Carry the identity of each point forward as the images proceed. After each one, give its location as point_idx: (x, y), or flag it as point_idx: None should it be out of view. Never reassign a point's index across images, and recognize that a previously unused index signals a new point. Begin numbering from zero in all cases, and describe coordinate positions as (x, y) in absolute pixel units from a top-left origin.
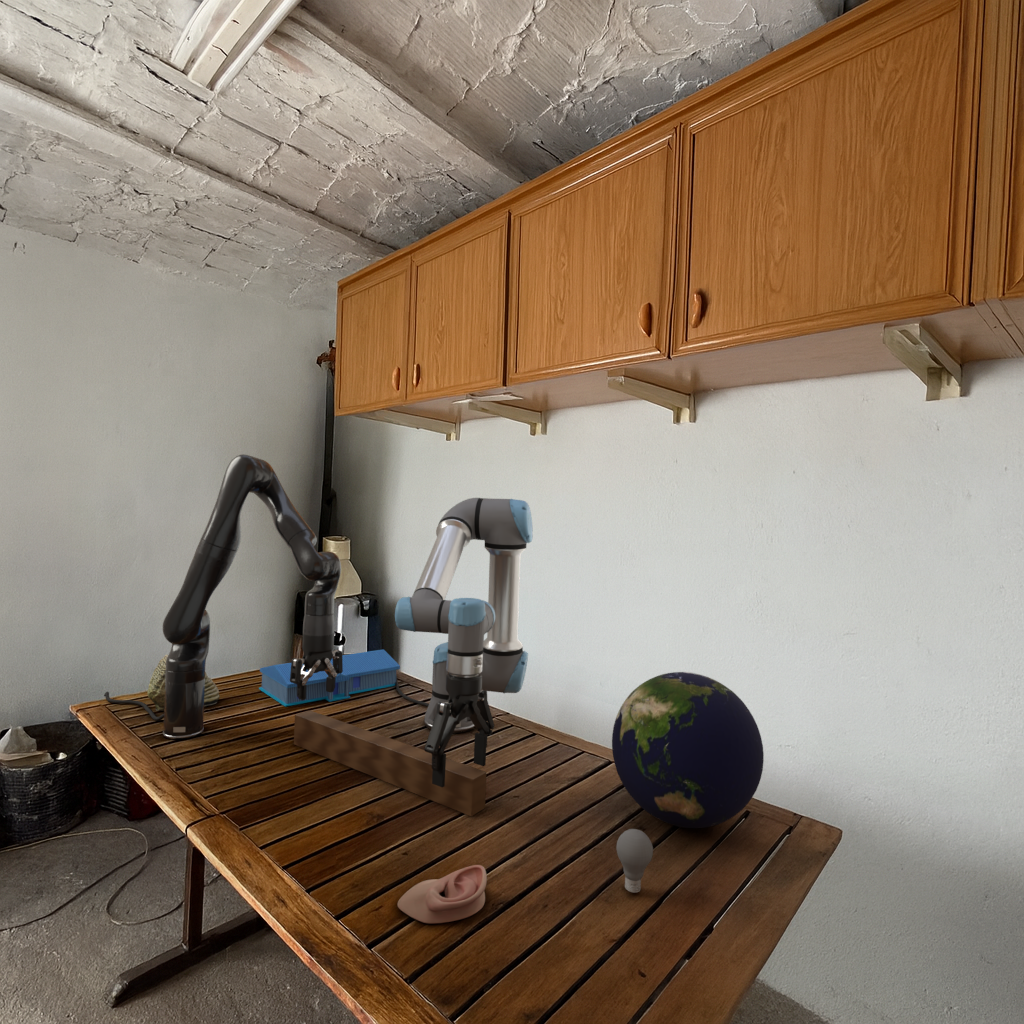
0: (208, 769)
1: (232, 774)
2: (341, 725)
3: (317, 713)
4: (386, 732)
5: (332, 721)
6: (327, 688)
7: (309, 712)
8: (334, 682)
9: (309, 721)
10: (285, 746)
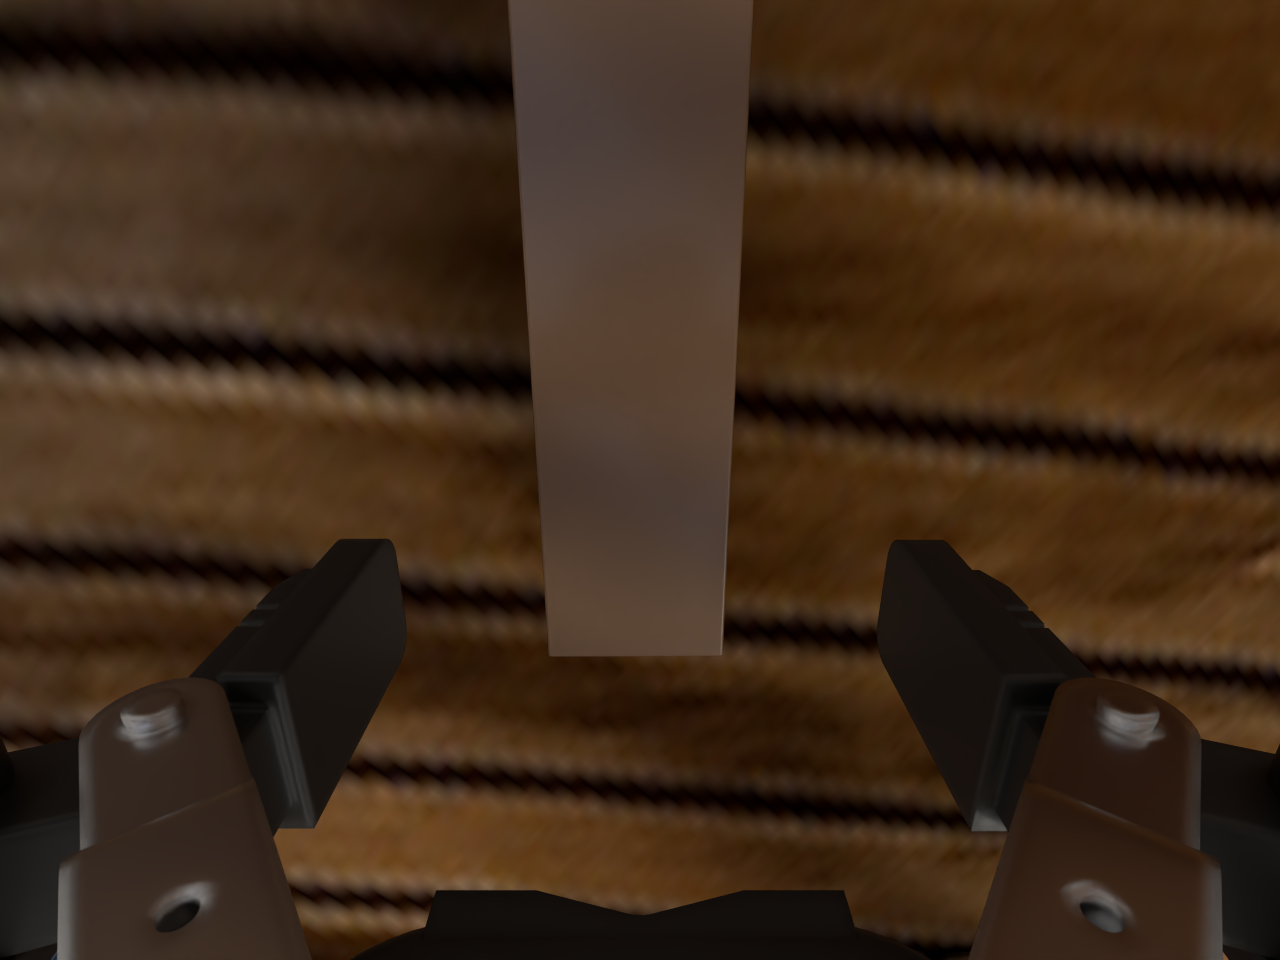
0: (1259, 580)
1: (1262, 419)
2: (611, 13)
3: (554, 540)
4: (22, 198)
5: (598, 224)
6: (389, 647)
7: (591, 613)
8: (246, 638)
9: (731, 443)
10: (754, 542)
